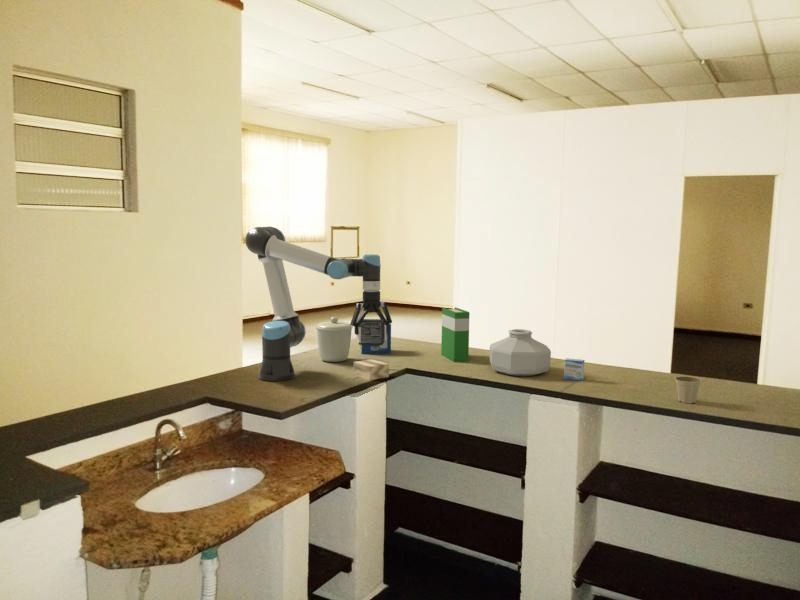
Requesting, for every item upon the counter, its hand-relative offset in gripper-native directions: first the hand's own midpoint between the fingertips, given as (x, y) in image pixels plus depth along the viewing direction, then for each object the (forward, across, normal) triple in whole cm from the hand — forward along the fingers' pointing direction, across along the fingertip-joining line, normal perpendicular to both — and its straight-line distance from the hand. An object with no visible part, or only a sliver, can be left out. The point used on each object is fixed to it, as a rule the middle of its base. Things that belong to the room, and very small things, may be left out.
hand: (371, 340), depth 280 cm
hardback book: (+16, +54, +15) cm, 58 cm away
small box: (+1, 0, 0) cm, 1 cm away
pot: (+16, +64, -22) cm, 69 cm away
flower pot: (+16, +88, -91) cm, 127 cm away
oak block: (+16, 0, 0) cm, 16 cm away
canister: (+16, -1, +37) cm, 40 cm away
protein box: (+16, +26, +46) cm, 55 cm away
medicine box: (+16, +75, -45) cm, 89 cm away
